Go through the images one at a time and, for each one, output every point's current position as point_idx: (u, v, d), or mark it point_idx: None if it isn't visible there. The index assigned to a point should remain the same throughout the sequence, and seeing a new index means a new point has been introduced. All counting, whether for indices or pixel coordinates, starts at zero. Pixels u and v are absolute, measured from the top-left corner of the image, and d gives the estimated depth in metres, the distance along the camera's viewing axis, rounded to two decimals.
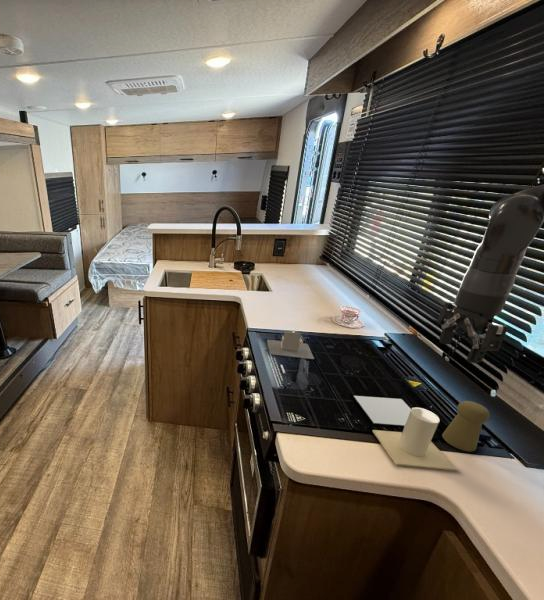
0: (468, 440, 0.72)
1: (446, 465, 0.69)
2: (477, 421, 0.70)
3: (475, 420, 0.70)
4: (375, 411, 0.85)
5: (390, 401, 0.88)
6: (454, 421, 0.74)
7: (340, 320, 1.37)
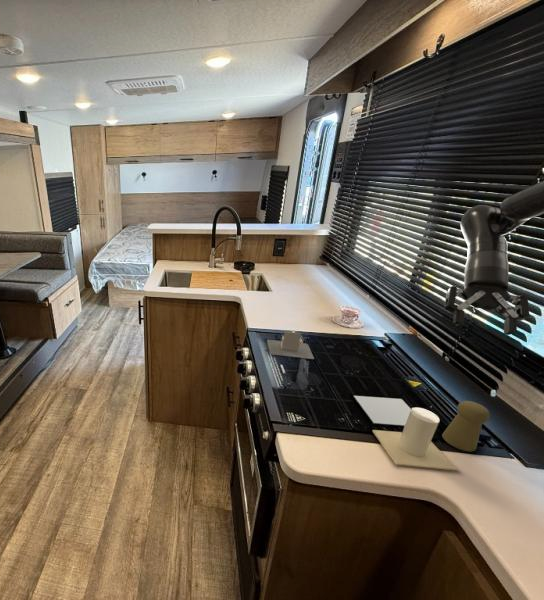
0: (468, 440, 0.72)
1: (446, 465, 0.69)
2: (477, 421, 0.70)
3: (475, 420, 0.70)
4: (375, 411, 0.85)
5: (390, 401, 0.88)
6: (454, 421, 0.74)
7: (340, 320, 1.37)
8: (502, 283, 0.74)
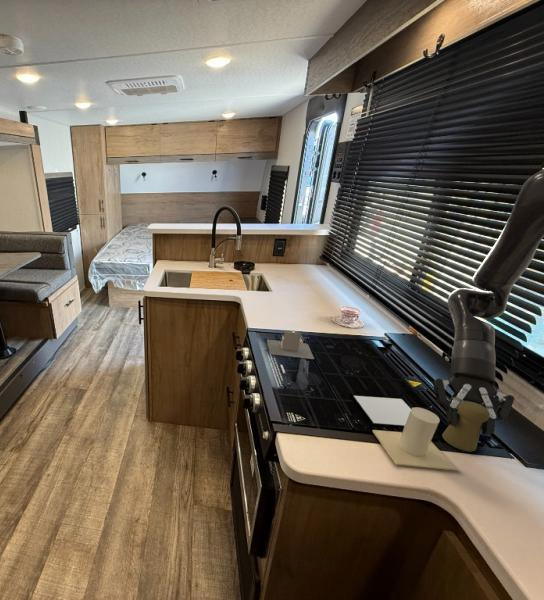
0: (468, 440, 0.72)
1: (446, 465, 0.69)
2: (477, 421, 0.70)
3: (475, 420, 0.70)
4: (375, 411, 0.85)
5: (390, 401, 0.88)
6: None
7: (340, 320, 1.37)
8: (488, 378, 0.72)
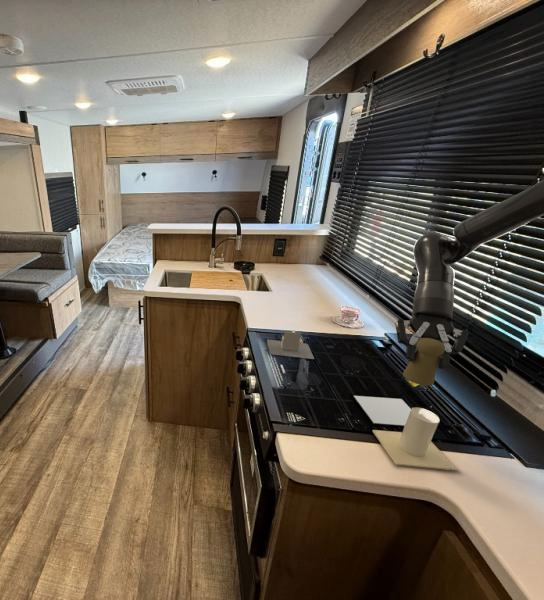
0: (425, 374, 0.75)
1: (446, 465, 0.69)
2: (433, 354, 0.73)
3: (431, 353, 0.73)
4: (375, 411, 0.85)
5: (390, 401, 0.88)
6: None
7: (340, 320, 1.37)
8: (445, 315, 0.74)
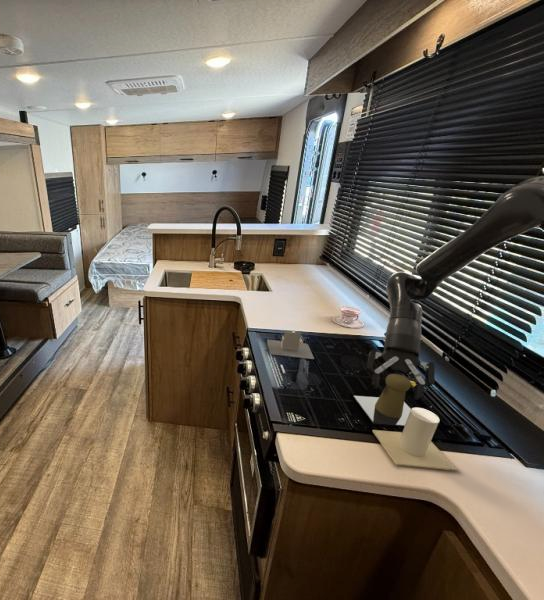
0: (393, 407, 0.82)
1: (446, 465, 0.69)
2: (399, 390, 0.80)
3: (398, 389, 0.80)
4: (375, 411, 0.85)
5: None
6: (383, 391, 0.84)
7: (340, 320, 1.37)
8: (412, 351, 0.81)
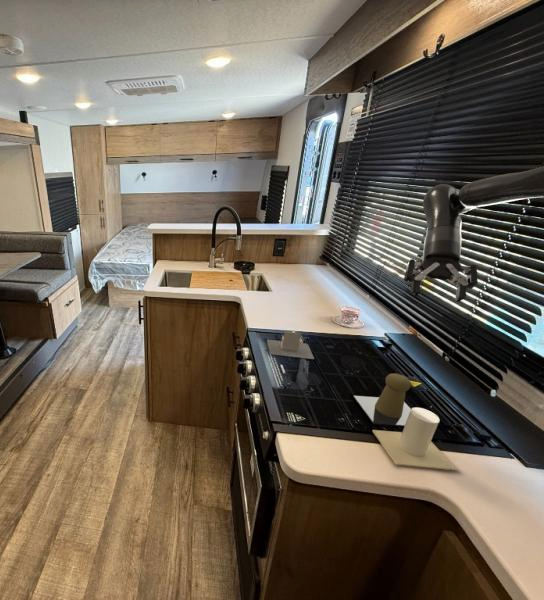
0: (393, 407, 0.82)
1: (446, 465, 0.69)
2: (399, 390, 0.80)
3: (398, 389, 0.80)
4: (375, 411, 0.85)
5: None
6: (383, 391, 0.84)
7: (340, 320, 1.37)
8: (454, 255, 0.81)
